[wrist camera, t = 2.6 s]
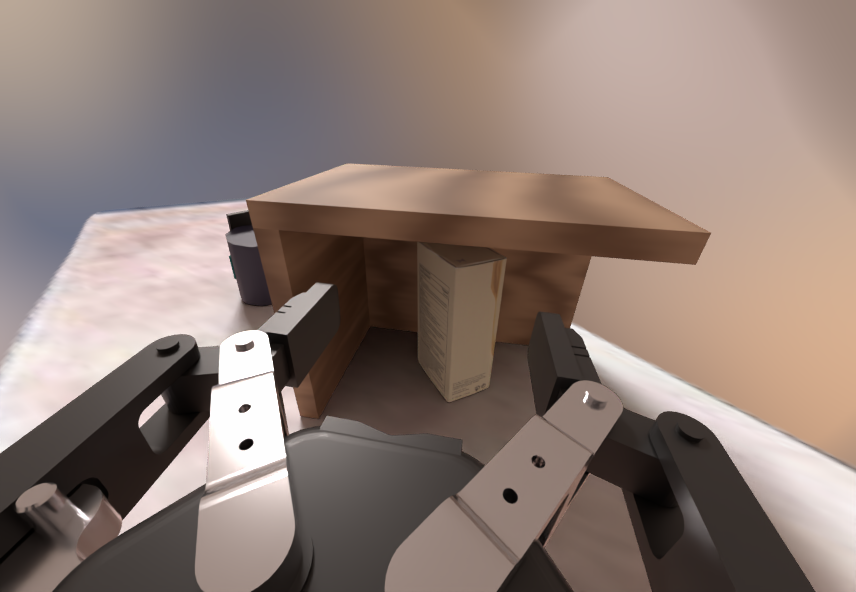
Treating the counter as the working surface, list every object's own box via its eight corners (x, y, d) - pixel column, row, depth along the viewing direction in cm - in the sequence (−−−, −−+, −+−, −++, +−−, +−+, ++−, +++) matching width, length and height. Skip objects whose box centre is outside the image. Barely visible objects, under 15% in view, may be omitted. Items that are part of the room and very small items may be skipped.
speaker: (236, 283, 43) (217, 207, 37) (282, 276, 45) (272, 204, 40) (242, 316, 37) (222, 233, 32) (294, 306, 40) (284, 227, 35)
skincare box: (490, 389, 28) (513, 259, 22) (447, 405, 26) (458, 269, 20) (453, 346, 33) (463, 230, 27) (414, 357, 31) (415, 237, 25)
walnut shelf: (560, 340, 34) (608, 177, 26) (599, 464, 22) (711, 232, 14) (361, 317, 37) (347, 163, 29) (300, 416, 25) (245, 199, 17)
